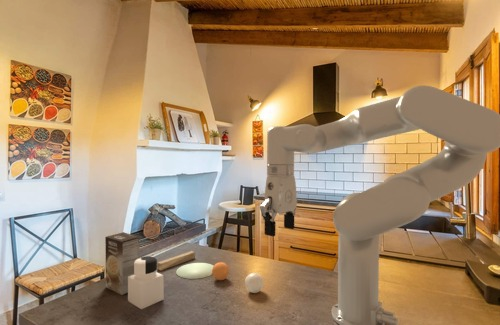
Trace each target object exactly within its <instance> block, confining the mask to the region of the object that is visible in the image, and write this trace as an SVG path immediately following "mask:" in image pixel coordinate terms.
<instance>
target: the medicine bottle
mask: <svg viewBox="0 0 500 325" xmlns="http://www.w3.org/2000/svg"><path fill="white" fill-rule="evenodd" d="M157 262H158V260H157V258H156V257H154V256H152V255H151V256H149V255H148V256H141V257H139V259H137V260H136V261H135V262H134V275H131V276H129V277H128V293H127V301H128V302H129V303H130V304H132V305H133V306H135V307H137V308H138V309H140V310H143V309H146V308H148V307H150V306H152V305H155V304H157V303H159V302H161V301H164V299H165V298H164V292H165V291H164V290H165V288H164V286H165V285H164V274H161V273H159V272H158V269H157Z"/></svg>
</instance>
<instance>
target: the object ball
mask: <svg viewBox="0 0 500 325" xmlns="http://www.w3.org/2000/svg"><path fill="white" fill-rule="evenodd" d="M213 266H214V267H213V269H212V277H213V278H214V279H215V280H217V281H223V280H225V279H227V278H228V277H229V274H230V268H229V266H228V264H226V262H222V261H221V262H217V263H215V264H214V265H213Z"/></svg>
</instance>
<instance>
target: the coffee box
mask: <svg viewBox="0 0 500 325" xmlns="http://www.w3.org/2000/svg"><path fill="white" fill-rule="evenodd" d="M139 258H140V236H139V235H138V236H137V235H133V234H130V233H127V232H125V231H124V232H118V233H115V234H112V235H108V236H105V288H106V289H108V290H111V291H113V292H115V293H117V294H119V295H121V296H123V295H125V294H128V277H129V276H131V275H134V262H135V261H136V260H137V259H139Z"/></svg>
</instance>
